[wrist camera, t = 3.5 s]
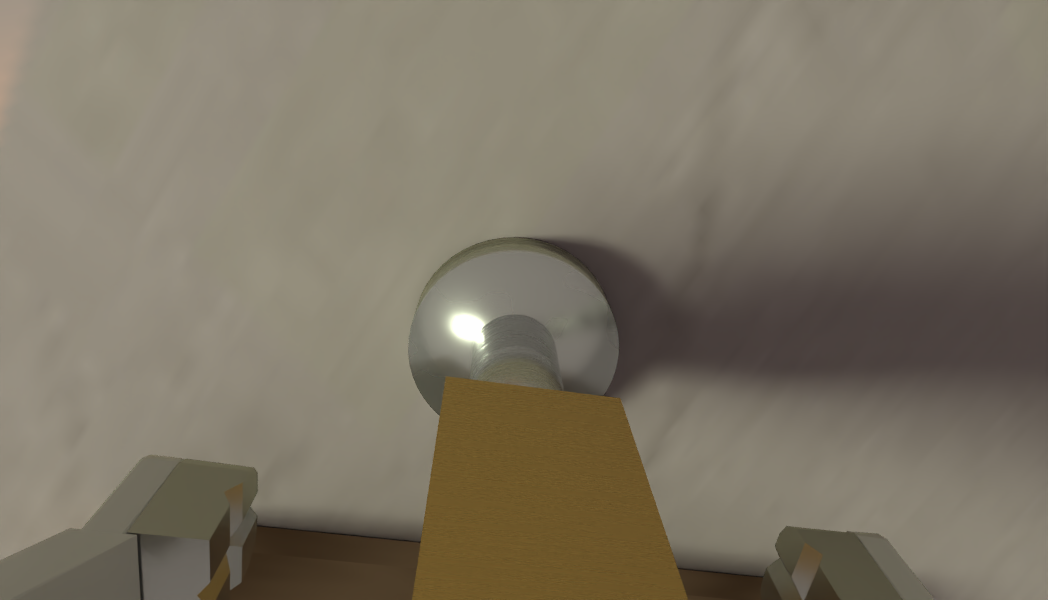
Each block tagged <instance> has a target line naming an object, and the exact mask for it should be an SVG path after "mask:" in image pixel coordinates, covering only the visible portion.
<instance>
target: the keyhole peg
mask: <svg viewBox="0 0 1048 600" xmlns="http://www.w3.org/2000/svg"><path fill="white" fill-rule="evenodd" d="M408 354H409V363H410V367H411V371H412V375H413V378H414V380H415V383H416V385H417V387H418V389H419V391H420V393H421V394H422V396H423V398H424V399H425V400H426V402H427V403H428V404H429V405H430V407H431V408H432V409H433V410H434V411H435V412H436V413H437V414H438V415H439V416H440V418H439V425H438V431H437V438H436V444H435V451H434V458H433V464H432V471H431V478H430V484H429V491H428V497H427V504H426V511H425V517H424V524H423V530H422V537H421V544H420V550H419V557H418V564H417V570H416V577H415V583H414V590H413V597H412V600H688V598H687V595H686V592H685V589H684V586H683V583H682V580H681V577H680V574H679V571H678V568H677V565H676V562H675V559H674V556H673V553H672V550H671V547H670V544H669V541H668V538H667V536H666V533H665V530H664V527H663V524H662V521H661V518H660V515H659V512H658V509H657V506H656V503H655V500H654V497H653V494H652V491H651V488H650V485H649V482H648V479H647V476H646V473H645V470H644V467H643V464H642V461H641V458H640V455H639V452H638V450H637V447H636V444H635V441H634V438H633V435H632V432H631V429H630V426H629V423H628V420H627V417H626V414H625V411H624V408H623V405H622V402H621V399H620V398H614V397H606V396H604V394H605V393H606V391H607V390H608V388H609V385H610V383H611V381H612V379H613V376H614V373H615V370H616V367H617V361H618V355H619V338H618V330H617V326H616V323H615V319H614V316H613V314H612V311H611V309H610V306H609V304H608V302H607V299H606V297H605V295H604V292H603V290H602V288H601V286H600V284H599V283H598V281H597V280H596V278H595V277H594V275H593V274H592V273H591V272H590V271H589V269H588V268H587V267H586V266H585V265H584V264H582V263H581V262H580V261H579V260H578V259H577V258H575V257H574V256H572V255H571V254H569V253H568V252H566V251H564V250H563V249H561V248H559V247H557V246H554V245H552V244H549V243H546V242H543V241H539V240H534V239H529V238H517V237H513V238H499V239H493V240H488V241H485V242H481V243H478V244H475V245H473V246H471V247H469V248H466V249H464V250H462V251H461V252H459V253H458V254H456V255H454V256H453V257H451V258H450V259H449V260H448V261H447V262H445V263H444V264H443V265H442V266H441V267H440V268H439V269H438V270H437V271H436V272H435V273H434V275H433V276H432V277H431V279H430V280H429V282H428V283H427V284H426V286H425V288H424V290H423V292H422V294H421V297H420V299H419V302H418V305H417V308H416V312H415V315H414V319H413V322H412V325H411V330H410V335H409V347H408Z"/></svg>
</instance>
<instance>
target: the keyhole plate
mask: <svg viewBox="0 0 1048 600" xmlns="http://www.w3.org/2000/svg"><path fill="white" fill-rule="evenodd" d="M420 544H421V543H417V542H407V541H398V540H388V539H378V538H368V537H358V536H348V535H338V534H329V533H319V532H309V531H299V530H289V529H279V528H270V527H260V526H257V532H256V539H255V546H254V550H253V553H252V556H251V560H250V563H249V567H248V569H247V571H246V573H245V576H244V578H243V580H242V583H240V584H239V585H237V586H236V587H234V588H233V589H231V590H230V600H412V597H413V590H414V583H415V577H416V570H417V564H418V557H419V550H420ZM678 571H679V574H680V577H681V580H682V583H683V586H684V589H685V592H686V595H687V598H688V600H761V583H762V580H763V578H762V577H752V576H742V575H732V574H722V573H713V572H703V571H693V570H683V569H678Z"/></svg>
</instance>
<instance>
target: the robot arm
mask: <svg viewBox="0 0 1048 600" xmlns="http://www.w3.org/2000/svg"><path fill="white" fill-rule="evenodd" d="M257 492H258V473H257V471H256V470H255V468H254V467H246V466H238V465H231V464H223V463H216V462H208V461H200V460H193V459H182V458H175V457H166V456H158V455H148V456H146V457H144V458H142V459H141V460H140V461H139V462H138V463H137V464H136V465H135V467H134V468H133V469H132V470H131V471H130V472H129V474H128V475H127V476H126V477H125V478H124V480H123V481H122V482H121V483H120V484H119V485H118V487H117V488H116V489H115V490H114V491H113V493H112V494H111V495H110V496H109V497H108V498H107V500H106V501H105V502H104V503H103V504H102V506H101V507H100V508H99V509H98V510H97V511H96V513H95V514H94V515H93V516H92V517H91V518H90V520H89V521H88V522H87V523H86V524H85V526H84V527H83V528H82V529H72V528H69V529H67V530H65V531H63V532H61V533H59V534H56V535H54V536H52V537H50V538H48V539H46V540H43V541H41V542H39V543H37V544H35V545H33V546H30V547H28V548H26V549H24V550H22V551H20V552H17V553H15V554H13V555H11V556H9V557H6V558H4V559H2V560H0V600H230V590H231V589H233V588H234V587H236V586H237V585H239V584H240V583H242V580H243V578H244V576H245V573H246V571H247V569H248V567H249V563H250V560H251V556H252V553H253V550H254V546H255V539H256V532H257V515H256V514H255V513H254V511H253V510H252V509H251V507H250V506H251V504H252V502H253V500H254V498H255V496H256V494H257ZM775 548H776V550H777V552H778V555H779V557H780V558H779V559H778V560H776V561H775V562H774V563H772V564H771V565H770V566H769V567H767V568H766V571H765V574H764V577H763V580H762V583H761V600H934V599H933V597H932V596H931V595H930V593H929V592H928V591H927V590H926V588H925V587H924V586H923V584H922V583H921V582H920V581H919V579H918V578H917V577H916V576H915V574H914V573H913V572H912V570H911V569H910V568H909V567H908V565H907V564H906V563H905V562H904V560H903V559H902V558H901V556H900V555H899V554H898V553H897V551H896V550H895V549H894V547H893V546H892V545H891V544H890V542H889V541H888V540H887V539H886V538H884V537H882V536H881V535H879V534H875V533H863V532H850V531H847V532H839V531H830V530H820V529H810V528H801V527H791V526H786V527H785V528H784V529H783V530H782V531H781V532H780V534H779V537H778V539H777V542H776V544H775Z"/></svg>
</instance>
